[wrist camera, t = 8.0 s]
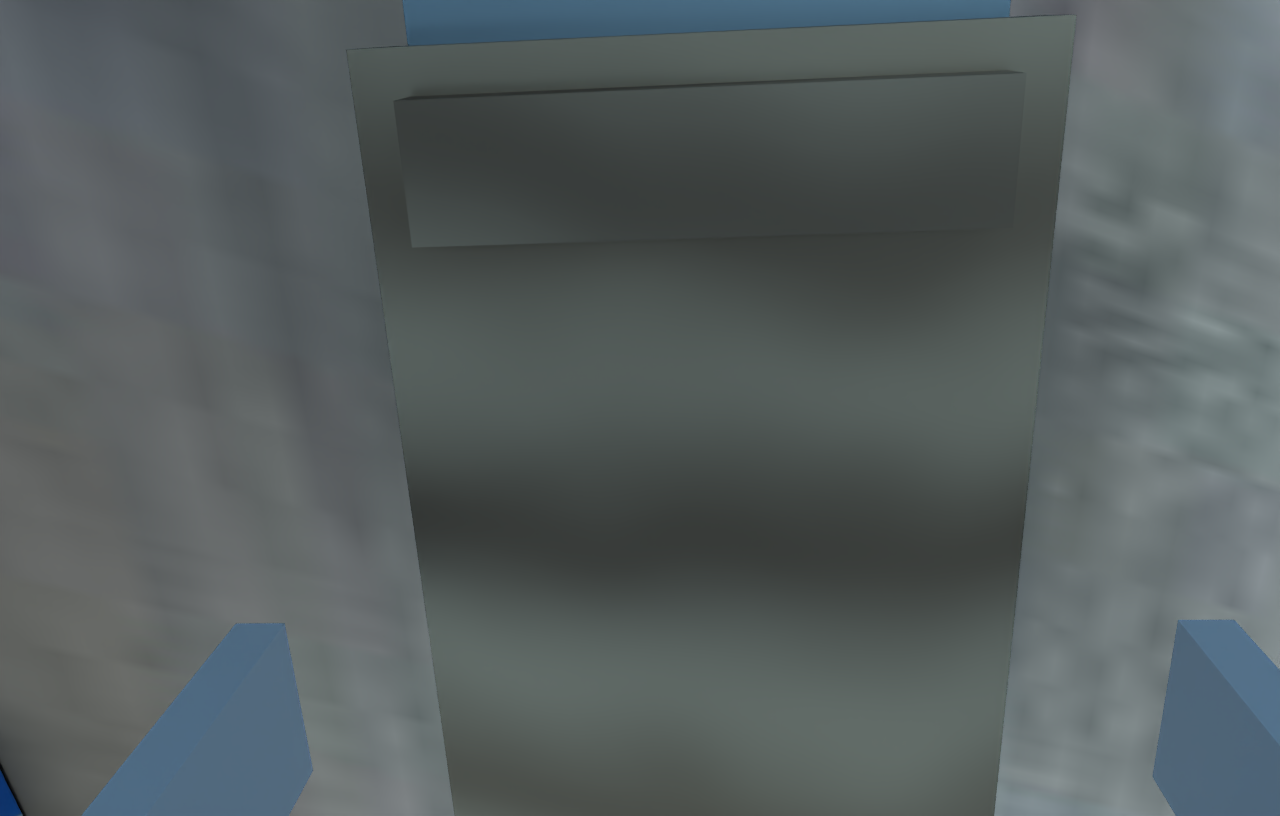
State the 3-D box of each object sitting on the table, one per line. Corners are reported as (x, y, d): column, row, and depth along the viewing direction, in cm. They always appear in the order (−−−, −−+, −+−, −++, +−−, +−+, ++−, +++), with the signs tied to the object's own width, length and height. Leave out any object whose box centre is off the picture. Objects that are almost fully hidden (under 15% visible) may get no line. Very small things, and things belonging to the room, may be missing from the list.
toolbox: (480, -3, 25) (291, -25, 14) (930, -26, 24) (1131, -70, 13) (561, 845, 35) (490, 1247, 23) (883, 849, 34) (973, 1267, 22)
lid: (382, 47, 19) (325, 51, 16) (1037, 15, 18) (1099, 13, 15) (480, 805, 25) (452, 903, 22) (965, 809, 24) (1000, 911, 22)
